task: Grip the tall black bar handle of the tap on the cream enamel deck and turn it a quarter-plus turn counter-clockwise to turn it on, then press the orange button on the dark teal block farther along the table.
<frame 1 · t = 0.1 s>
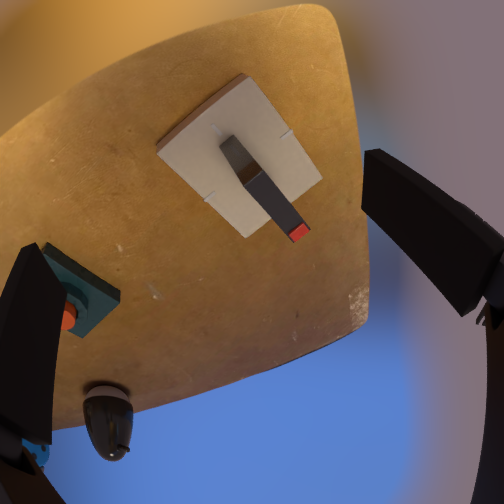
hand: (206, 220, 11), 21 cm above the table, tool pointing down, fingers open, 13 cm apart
button block: (66, 289, 35), on the table
alarm clock: (28, 420, 54), on the table
dark egg shaped device: (107, 390, 52), on the table
button: (61, 314, 32), point 4 cm above the table, slide at 0.1 cm
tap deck: (240, 154, 32), on the table
tap handle: (262, 184, 26), point 8 cm above the table, hinge at 0.0°
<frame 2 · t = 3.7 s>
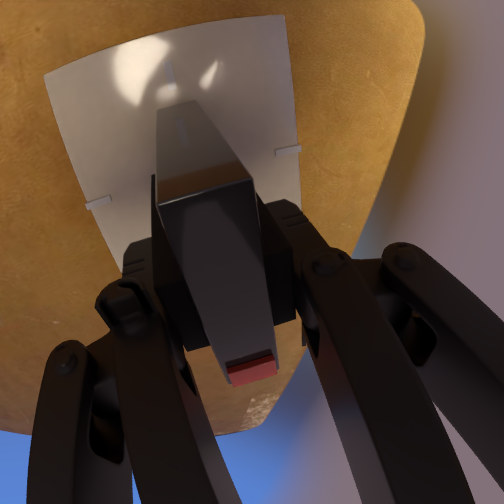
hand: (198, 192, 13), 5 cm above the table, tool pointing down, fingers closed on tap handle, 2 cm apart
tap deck: (186, 152, 17), on the table
tap handle: (207, 222, 11), point 8 cm above the table, hinge at 0.0°, touching gripper
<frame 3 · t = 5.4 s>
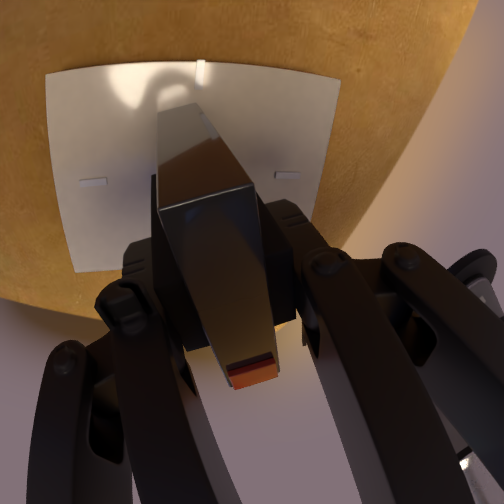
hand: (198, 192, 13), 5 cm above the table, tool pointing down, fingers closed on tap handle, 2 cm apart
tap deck: (187, 155, 17), on the table
tap handle: (207, 225, 11), point 8 cm above the table, hinge at 104.8°, touching gripper
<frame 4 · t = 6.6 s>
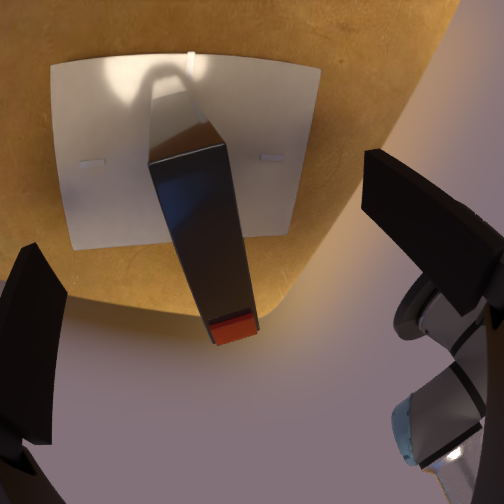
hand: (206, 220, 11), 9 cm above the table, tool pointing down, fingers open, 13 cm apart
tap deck: (179, 140, 18), on the table
tap handle: (195, 196, 12), point 8 cm above the table, hinge at 104.8°
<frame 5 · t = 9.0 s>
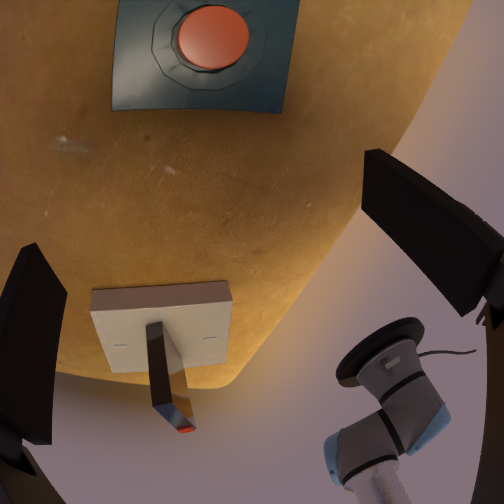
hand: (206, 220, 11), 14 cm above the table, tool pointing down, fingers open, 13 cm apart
button block: (202, 41, 18), on the table
button: (211, 37, 14), point 4 cm above the table, slide at 0.1 cm
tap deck: (162, 321, 33), on the table
tap handle: (169, 379, 27), point 8 cm above the table, hinge at 104.8°
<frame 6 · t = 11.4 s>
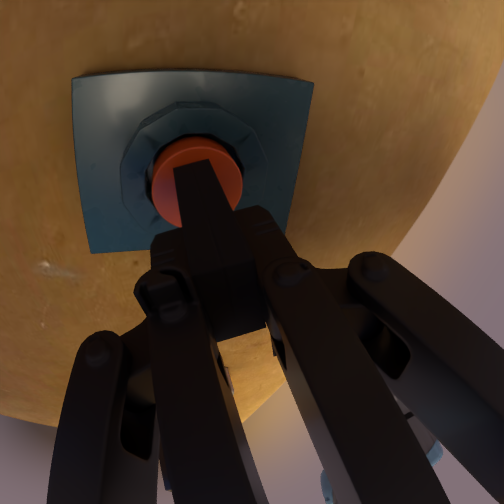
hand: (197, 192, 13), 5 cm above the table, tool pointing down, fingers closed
button block: (187, 153, 17), on the table
button: (195, 182, 14), point 4 cm above the table, slide at -0.2 cm, touching gripper
tap handle: (177, 456, 26), point 8 cm above the table, hinge at 104.8°
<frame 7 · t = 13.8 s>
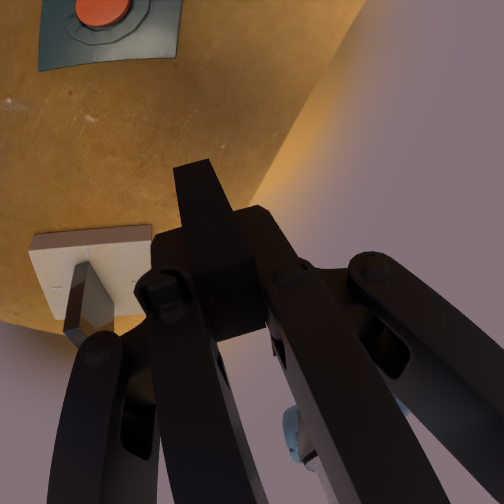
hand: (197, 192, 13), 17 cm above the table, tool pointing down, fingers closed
button block: (111, 9, 17), on the table
button: (103, 2, 14), point 4 cm above the table, slide at 0.1 cm
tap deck: (97, 267, 33), on the table
tap handle: (92, 316, 28), point 8 cm above the table, hinge at 104.8°
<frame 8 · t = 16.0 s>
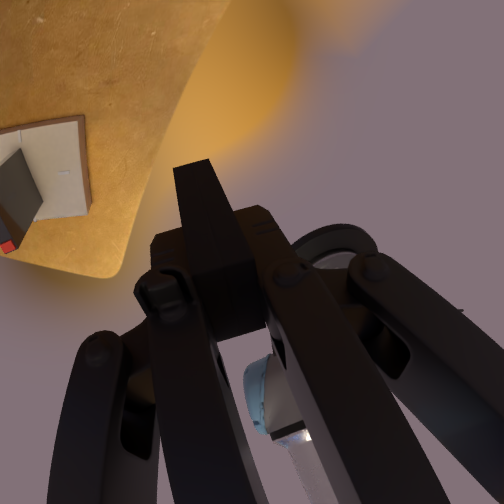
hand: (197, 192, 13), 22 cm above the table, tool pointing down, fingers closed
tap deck: (34, 167, 28), on the table
tap handle: (10, 197, 22), point 8 cm above the table, hinge at 104.8°
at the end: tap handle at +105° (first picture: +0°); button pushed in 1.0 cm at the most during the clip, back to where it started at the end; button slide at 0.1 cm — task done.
